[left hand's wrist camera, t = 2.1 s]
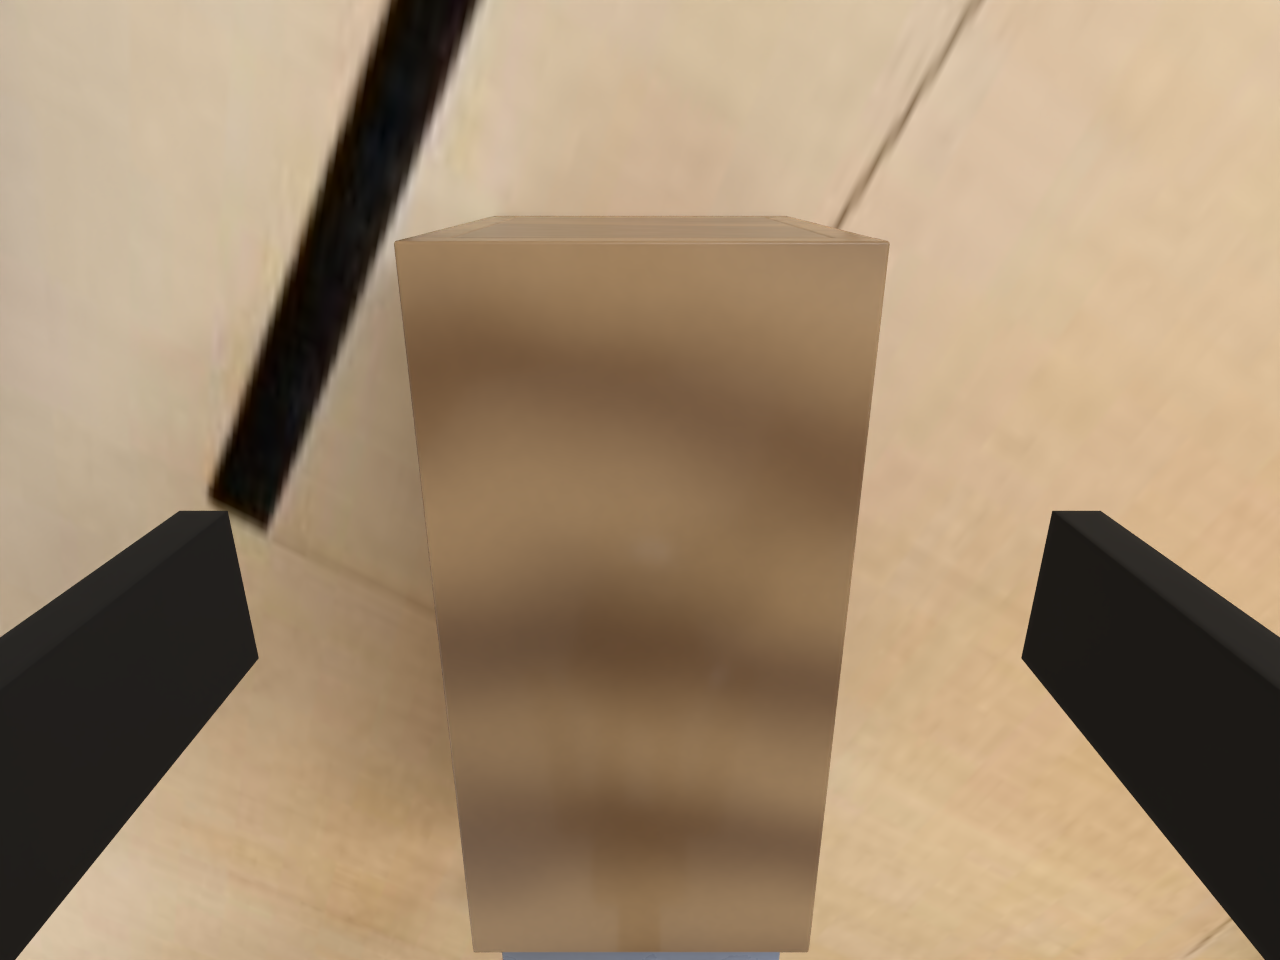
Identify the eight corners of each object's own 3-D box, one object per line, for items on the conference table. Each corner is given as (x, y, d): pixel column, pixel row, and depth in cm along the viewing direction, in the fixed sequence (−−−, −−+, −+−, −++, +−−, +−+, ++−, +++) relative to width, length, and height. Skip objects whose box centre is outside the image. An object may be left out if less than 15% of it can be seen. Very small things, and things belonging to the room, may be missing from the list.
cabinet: (755, 710, 33) (808, 952, 23) (525, 710, 33) (473, 953, 23) (789, 216, 26) (890, 241, 15) (492, 216, 26) (393, 241, 15)
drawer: (735, 866, 35) (766, 1089, 26) (545, 866, 35) (514, 1089, 26) (769, 314, 26) (834, 381, 17) (511, 314, 26) (448, 381, 17)
